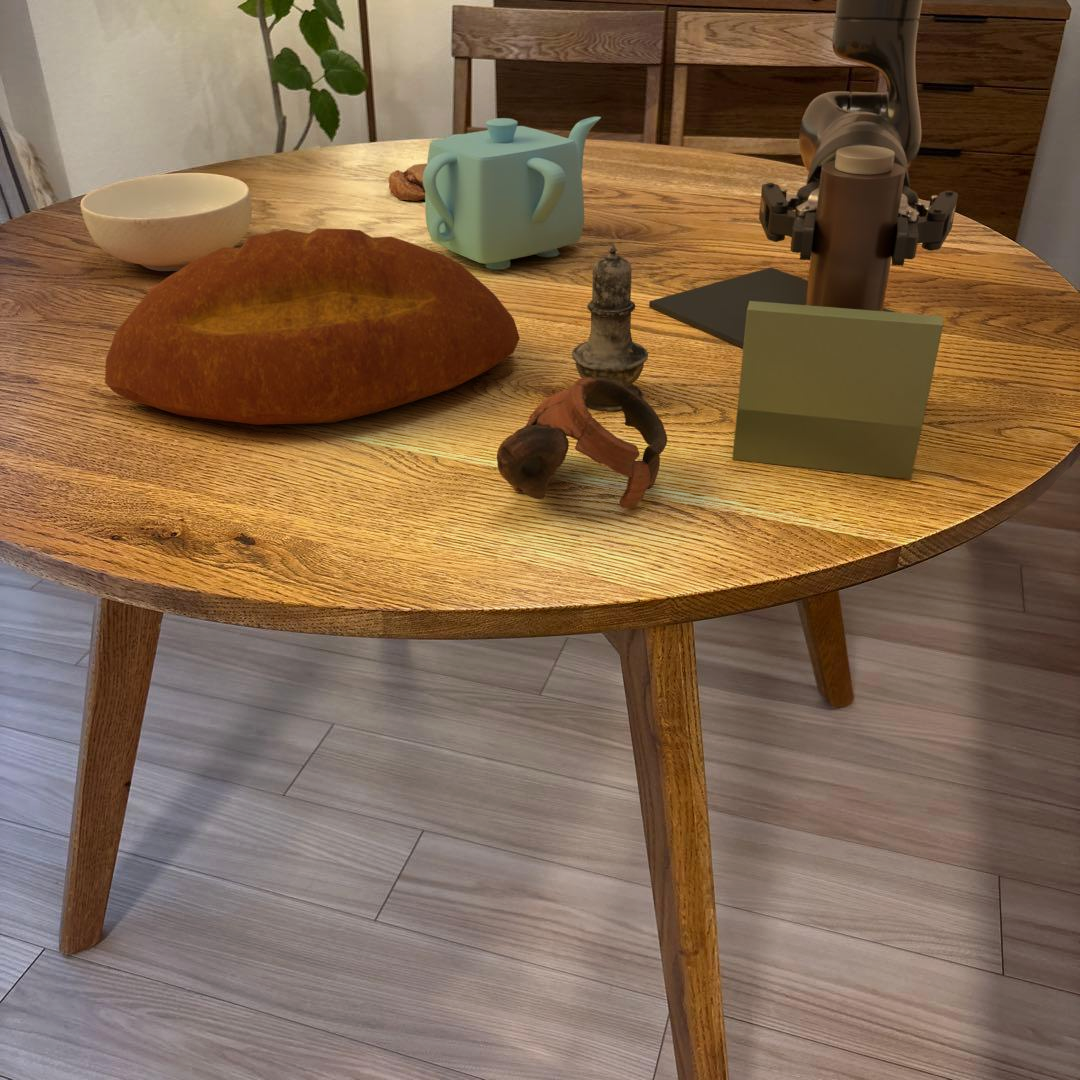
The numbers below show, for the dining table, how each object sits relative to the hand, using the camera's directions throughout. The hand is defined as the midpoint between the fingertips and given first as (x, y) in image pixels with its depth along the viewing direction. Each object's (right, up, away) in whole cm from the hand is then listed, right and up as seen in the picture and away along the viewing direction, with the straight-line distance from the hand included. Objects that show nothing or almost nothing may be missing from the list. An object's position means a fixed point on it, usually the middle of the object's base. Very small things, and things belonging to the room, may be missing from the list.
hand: (853, 247), depth 67 cm
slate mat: (+1, +2, +29) cm, 29 cm away
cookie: (-34, +25, +66) cm, 78 cm away
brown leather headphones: (-18, -16, +3) cm, 24 cm away
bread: (-38, -6, +18) cm, 42 cm away
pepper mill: (+1, -4, +6) cm, 7 cm away
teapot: (-23, +13, +46) cm, 53 cm away
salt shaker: (-15, -8, +15) cm, 22 cm away
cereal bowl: (-59, +11, +44) cm, 75 cm away
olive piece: (+1, -11, +9) cm, 14 cm away
